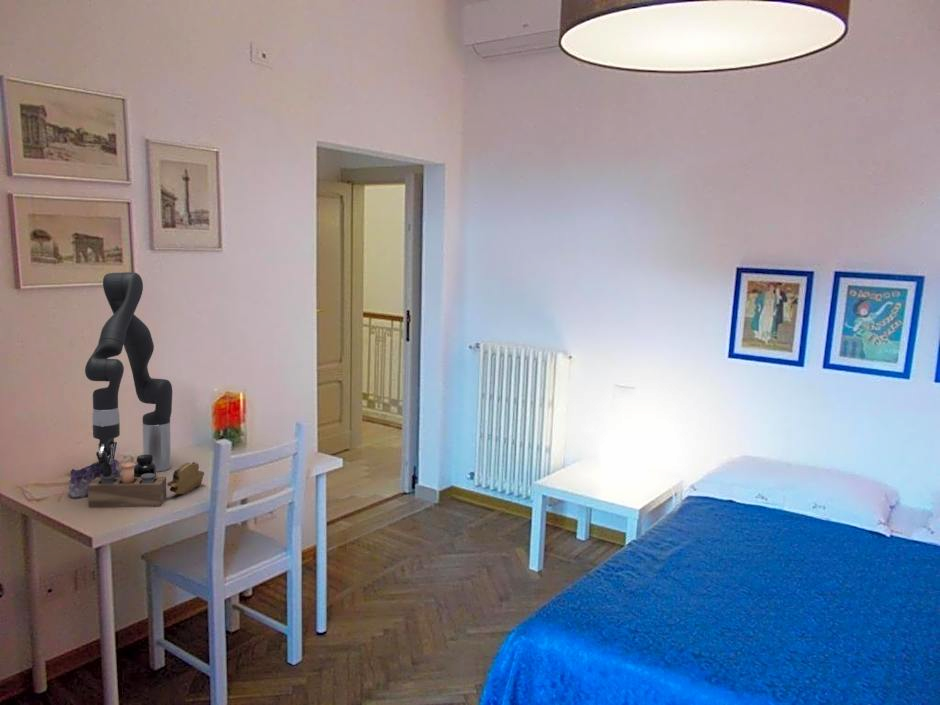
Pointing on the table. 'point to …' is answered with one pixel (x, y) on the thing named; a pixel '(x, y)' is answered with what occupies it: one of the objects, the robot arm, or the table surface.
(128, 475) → the terracotta plug
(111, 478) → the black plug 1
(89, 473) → the geode
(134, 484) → the walnut socket block
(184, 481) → the wooden carving
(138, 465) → the supplement bottle
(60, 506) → the table surface
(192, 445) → the table surface
